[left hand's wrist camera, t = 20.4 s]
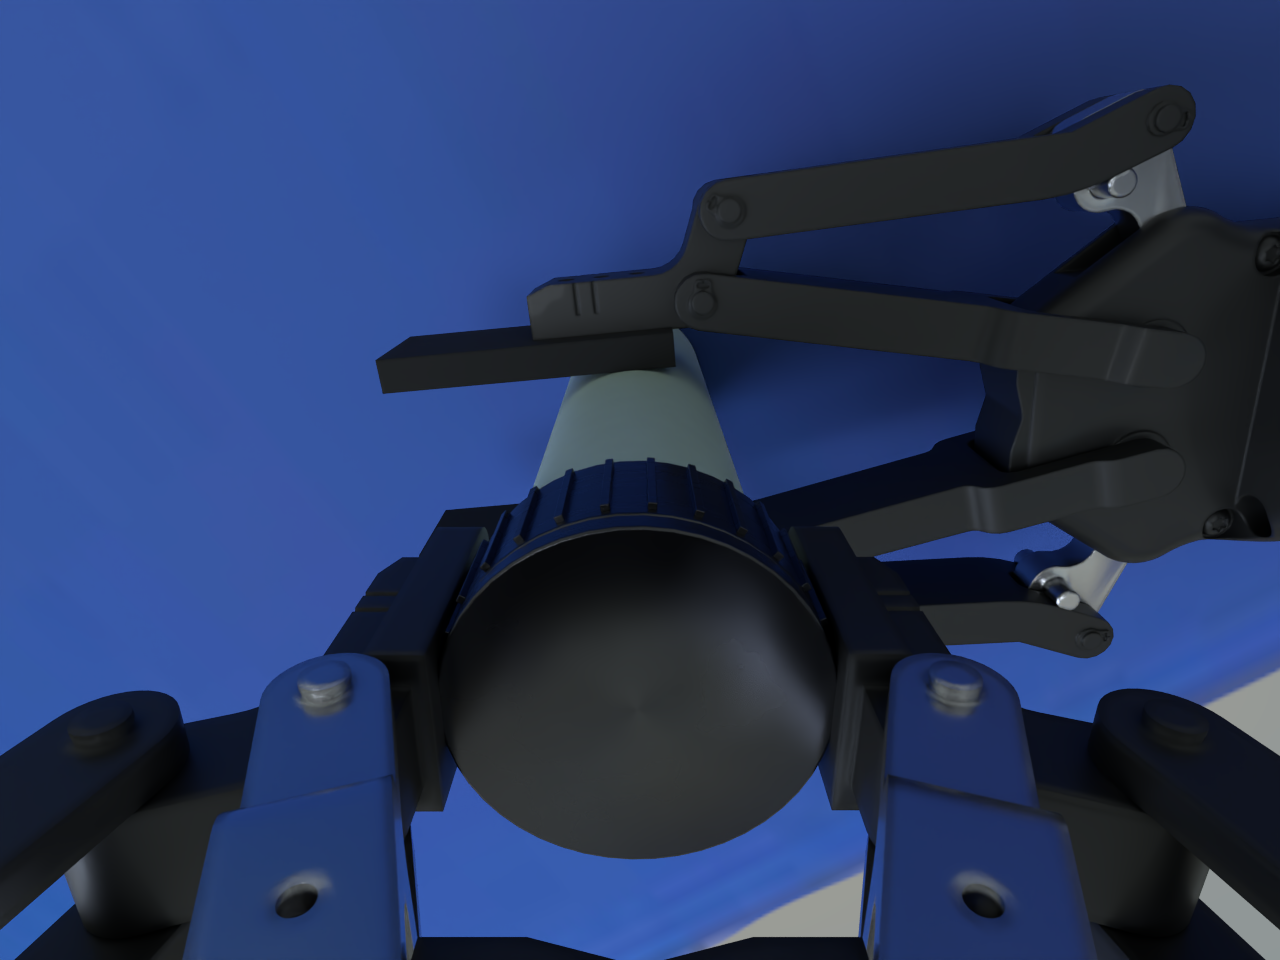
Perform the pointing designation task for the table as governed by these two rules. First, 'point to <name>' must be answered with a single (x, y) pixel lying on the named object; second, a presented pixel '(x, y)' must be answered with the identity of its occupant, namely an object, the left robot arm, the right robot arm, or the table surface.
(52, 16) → the table surface
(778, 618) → the lid
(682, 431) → the pale green rounded cylinder
